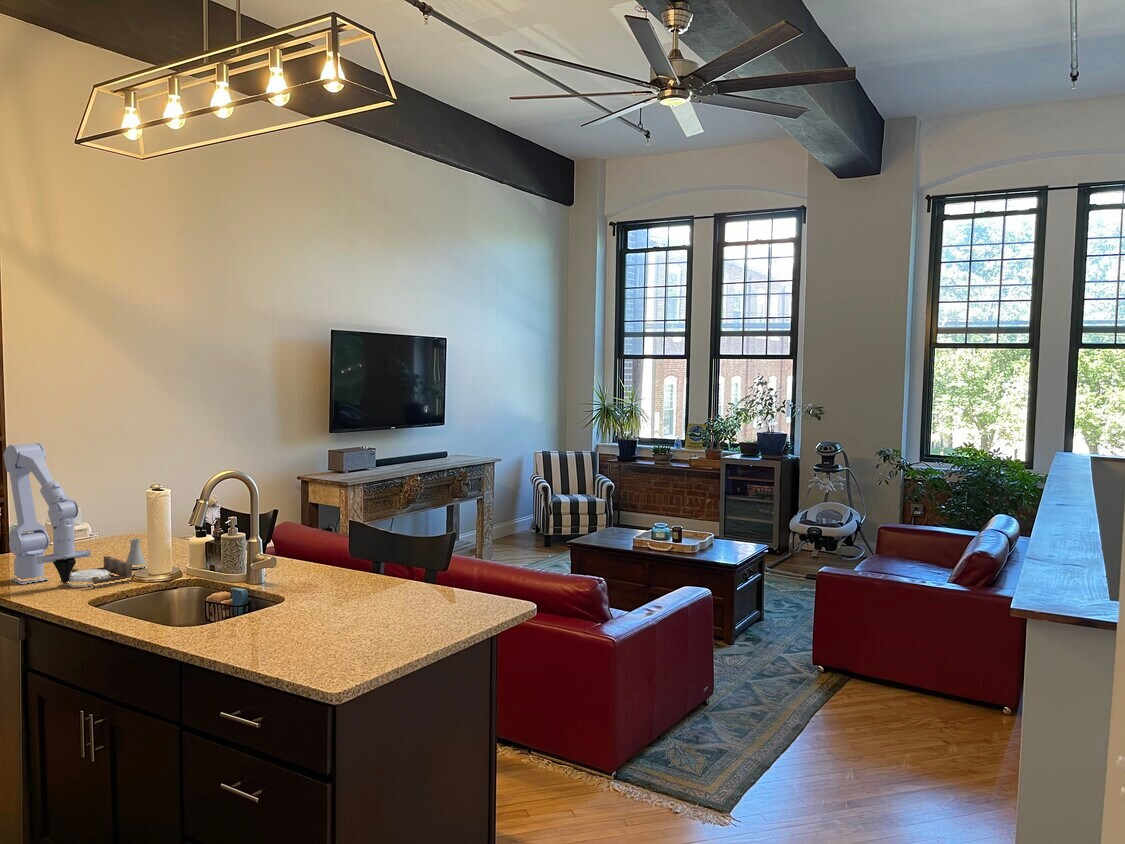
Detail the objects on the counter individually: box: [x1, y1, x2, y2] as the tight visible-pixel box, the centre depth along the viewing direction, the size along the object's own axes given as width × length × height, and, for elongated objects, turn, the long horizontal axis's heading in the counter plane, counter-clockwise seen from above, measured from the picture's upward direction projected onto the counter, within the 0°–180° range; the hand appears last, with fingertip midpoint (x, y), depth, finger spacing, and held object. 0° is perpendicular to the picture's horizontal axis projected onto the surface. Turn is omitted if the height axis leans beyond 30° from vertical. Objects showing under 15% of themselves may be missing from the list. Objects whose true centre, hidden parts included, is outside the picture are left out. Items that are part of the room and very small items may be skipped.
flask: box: [125, 538, 148, 570], centre depth 284 cm, size 7×7×10 cm
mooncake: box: [66, 568, 110, 588], centre depth 263 cm, size 12×12×4 cm
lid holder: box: [71, 555, 133, 589], centre depth 266 cm, size 18×11×6 cm, turn 50°
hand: (64, 583), depth 258 cm, fingers closed
